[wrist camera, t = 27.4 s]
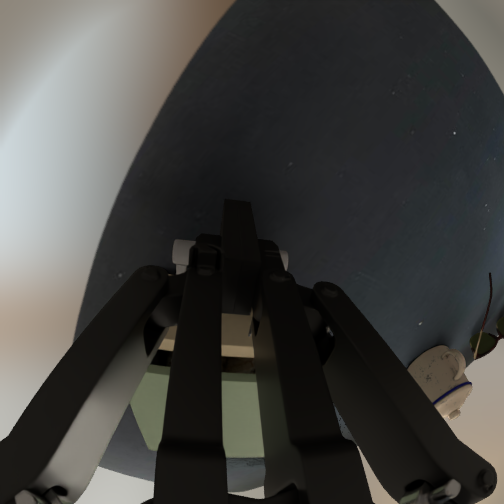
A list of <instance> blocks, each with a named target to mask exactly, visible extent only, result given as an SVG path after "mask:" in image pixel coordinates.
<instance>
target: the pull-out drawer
mask: <svg viewBox="0 0 504 504" xmlns="http://www.w3.org/2000/svg"><path fill="white" fill-rule="evenodd" d="M195 242H196V241H189V240H180V239H176V240H175V242H174V246H173V254H172V260H173V263H174V264H176V274H181V273H184V272H185V271H186V267H187V265H188V263H189V249H190V248H191V246H193V245H195ZM280 254H281V258H282V261H283V264H284V267H285V271H286V270H287V267H288V254H287V252H286V251H280ZM168 275H171V274H168ZM252 316H253V310H251V314H250V316H249V315H236V314H224V313H222V356H231V357H248V358H254V351H253V341H252V333H251V337H249V336H248V334H249V329H250V325H251V321H252ZM176 330H177V326H171V327H169V330H168V332H167V334H166V336H165V338H164V340H163V341H162V343H161V345H160V347H159V349H158V350H157V352H156V354H155V356H154V358H153V360H152V361H151V363H150V364H151V365H158V366H165V367H166V360H167V357H166V354H165V351H164V350H169V351H173V348H174V342H175V336H176Z"/></svg>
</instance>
